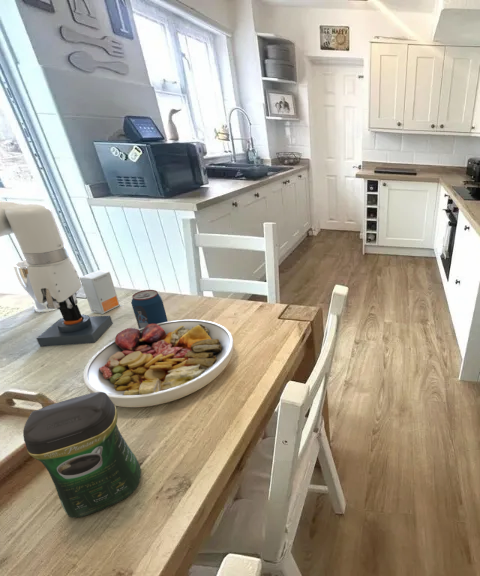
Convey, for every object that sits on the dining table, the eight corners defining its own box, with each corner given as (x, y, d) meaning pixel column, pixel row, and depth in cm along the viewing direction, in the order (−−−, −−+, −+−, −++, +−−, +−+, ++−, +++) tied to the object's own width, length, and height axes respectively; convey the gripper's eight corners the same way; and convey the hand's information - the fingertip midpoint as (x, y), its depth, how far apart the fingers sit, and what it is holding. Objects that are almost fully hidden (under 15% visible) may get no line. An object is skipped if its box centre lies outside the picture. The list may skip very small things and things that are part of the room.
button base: (40, 346, 84) (33, 332, 82) (63, 326, 93) (58, 312, 91) (94, 342, 87) (89, 328, 85) (112, 323, 96) (108, 310, 94)
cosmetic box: (103, 314, 99) (91, 279, 94) (91, 312, 100) (78, 277, 95) (121, 305, 105) (110, 271, 100) (109, 303, 105) (97, 269, 100)
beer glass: (65, 300, 105) (47, 257, 98) (63, 309, 100) (44, 264, 94) (34, 305, 101) (14, 261, 94) (31, 315, 96) (9, 269, 90)
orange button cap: (63, 329, 86) (60, 323, 86) (71, 322, 90) (68, 316, 89) (79, 328, 87) (76, 322, 87) (86, 321, 90) (84, 315, 90)
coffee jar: (142, 458, 59) (112, 378, 51) (142, 495, 53) (107, 413, 45) (71, 484, 54) (25, 401, 46) (62, 529, 48) (7, 443, 40)
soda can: (169, 322, 98) (160, 287, 93) (169, 334, 93) (160, 297, 88) (141, 327, 94) (130, 291, 89) (140, 340, 89) (128, 302, 84)
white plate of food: (259, 348, 89) (256, 324, 86) (162, 433, 63) (152, 404, 60) (174, 325, 97) (168, 302, 93) (55, 392, 71) (41, 363, 67)
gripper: (48, 246, 85) (73, 306, 93) (4, 267, 72) (37, 335, 80) (82, 245, 87) (103, 305, 95) (45, 266, 74) (73, 333, 82)
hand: (73, 319), depth 88 cm, fingers closed
